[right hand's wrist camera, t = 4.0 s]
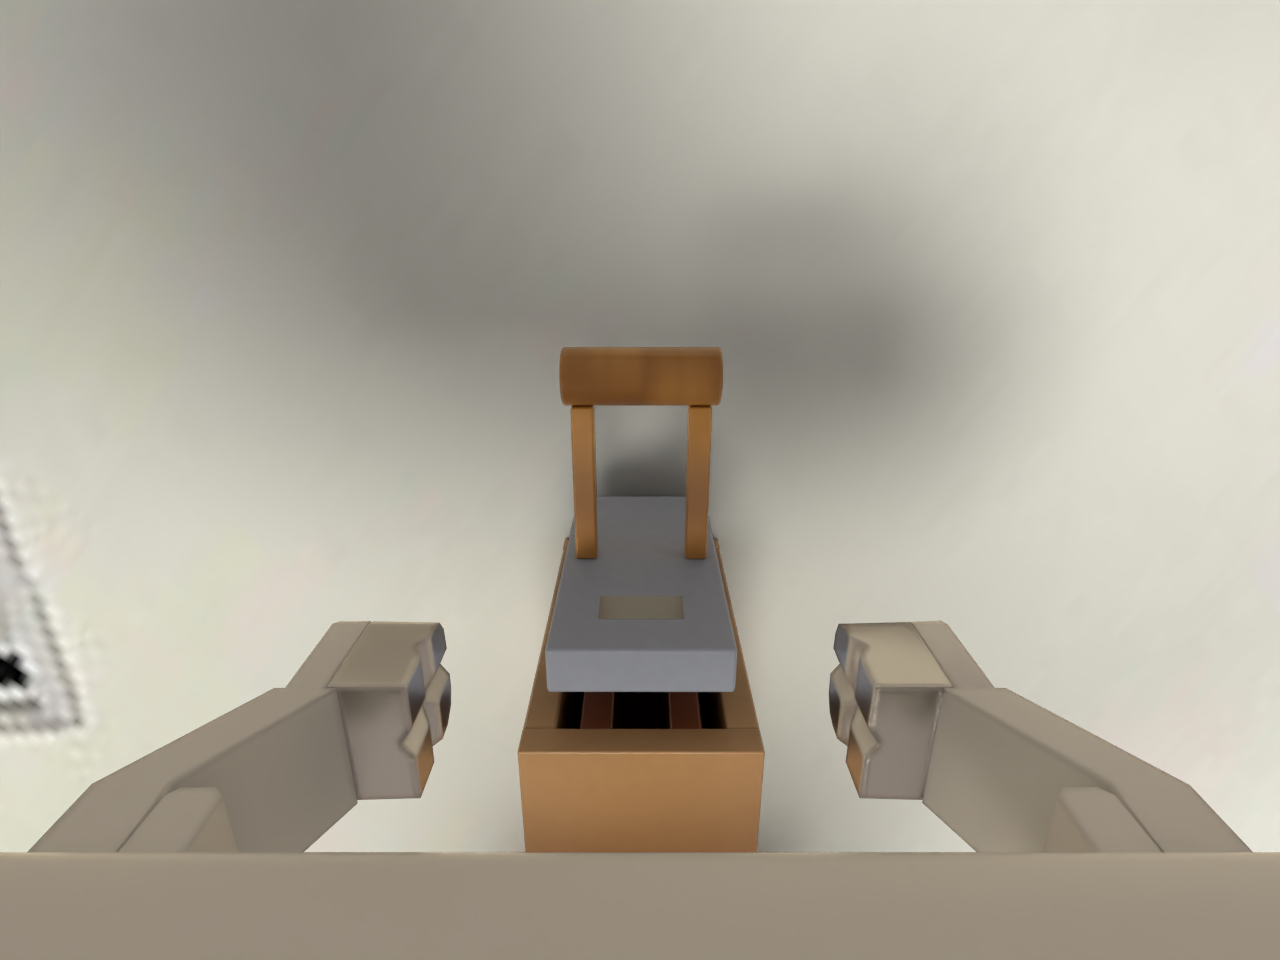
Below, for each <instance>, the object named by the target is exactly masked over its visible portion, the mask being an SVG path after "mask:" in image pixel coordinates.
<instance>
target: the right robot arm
mask: <svg viewBox="0 0 1280 960" xmlns="http://www.w3.org/2000/svg"><path fill="white" fill-rule="evenodd" d="M834 650H835V653H836V655H837V657H838V660H839V662H840V664H839V665H838V666H837V667H836V668H835V669H834V671H833V672H832V673H831V674H830V686H829V704H830V714H831V719H832V724H833V727H834V730H835V733H836V736H837V739H839V740H840V741H841V742H843V743H844V744H845V745H847V746H848V748H847V757H846V763H847V766H848V769H849V771H850V774H851V776H852V779H853V782H854V784H855V787H856V790H857V792H858V795H859V798H876V799H912V800H923V802H922V803H923V804H924V805H926V806H927V807H928V808H929V809H930V810H931V811H932V812H933V813H934V814H935V815H937V816H938V817H939V818H940V819H941V820H942V821H943V822H944V823H945V824H946V825H948V826H949V827H950V828H951V829H952V830H953V831H954V832H955V833H956V834H957V835H959V836H960V837H961V838H962V839H963V840H964V841H965V842H966V843H967V844H968V845H970V846H971V847H972V848H973V849H974V850H975V851H976V852H696V853H426V852H304V851H305V850H306V849H308V848H309V847H310V846H311V845H312V844H313V843H314V842H315V841H316V840H317V839H319V838H320V837H321V836H322V835H323V834H324V833H325V832H326V831H327V830H328V829H330V828H331V827H332V826H333V825H334V824H335V823H336V822H337V821H338V820H340V819H341V818H342V817H343V816H344V815H345V814H346V813H347V812H348V811H349V810H351V809H352V808H353V807H354V806H355V805H356V804H357V800H368V799H403V798H421V795H422V793H423V790H424V787H425V785H426V782H427V779H428V777H429V774H430V771H431V769H432V766H433V763H434V756H433V748H432V746H433V745H435V744H436V743H437V742H439V741H440V740H441V739H443V736H444V733H445V730H446V727H447V725H448V719H449V713H450V707H451V683H450V674H449V673H448V672H447V670H446V669H445V668H444V667H443V666H442V665H441V664H440V662H441V660H442V658H443V655H444V653H445V651H446V641H445V635H444V629H443V627H442V626H441V624H440V623H427V622H377V621H374V622H370V621H340V622H337V623H334V624H332V625H331V627H330V628H329V629H328V631H327V632H326V633H325V635H324V636H323V637H322V639H321V640H320V642H319V643H318V644H317V646H316V647H315V648H314V650H313V651H312V652H311V654H310V655H309V656H308V658H307V659H306V661H305V662H304V663H303V665H302V666H301V667H300V669H299V670H298V671H297V673H296V674H295V675H294V677H293V678H292V679H291V681H290V682H289V684H288V685H287V686H286V688H274V689H272V690H270V691H268V692H266V693H264V694H262V695H260V696H258V697H257V698H255V699H253V700H251V701H249V702H247V703H245V704H243V705H241V706H239V707H238V708H236V709H234V710H232V711H230V712H228V713H226V714H224V715H222V716H220V717H219V718H217V719H215V720H213V721H211V722H209V723H207V724H205V725H203V726H201V727H200V728H198V729H196V730H194V731H192V732H190V733H188V734H186V735H184V736H182V737H181V738H179V739H177V740H175V741H173V742H171V743H169V744H167V745H165V746H163V747H162V748H160V749H158V750H156V751H154V752H152V753H150V754H148V755H146V756H144V757H142V758H141V759H139V760H137V761H135V762H133V763H131V764H129V765H127V766H125V767H123V768H122V769H120V770H118V771H116V772H114V773H112V774H110V775H108V776H106V777H104V778H103V779H101V780H99V781H97V782H95V783H93V784H91V786H90V787H89V788H88V789H87V790H86V791H85V792H84V793H83V794H82V795H81V796H80V797H79V798H78V799H77V800H76V801H75V802H74V803H73V804H72V806H71V807H70V808H69V809H68V810H67V811H66V812H65V813H64V814H63V815H62V816H61V817H60V818H59V819H58V820H57V821H56V822H55V823H54V825H53V826H52V827H51V828H50V829H49V830H48V831H47V832H46V833H45V834H44V835H43V836H42V837H41V838H40V839H39V840H38V841H37V842H36V844H35V845H34V846H33V847H32V848H31V849H30V850H29V851H28V852H0V960H1280V852H1252V851H1251V850H1250V849H1249V848H1248V846H1247V845H1246V844H1245V843H1244V842H1243V841H1242V840H1241V839H1240V838H1239V837H1238V836H1237V835H1236V834H1235V833H1234V832H1233V831H1232V829H1231V828H1230V827H1229V826H1228V825H1227V824H1226V823H1225V822H1224V821H1223V820H1222V819H1221V818H1220V817H1219V816H1218V815H1217V814H1216V812H1215V811H1214V810H1213V809H1212V808H1211V807H1210V806H1209V805H1208V804H1207V803H1206V802H1205V801H1204V800H1203V799H1202V798H1201V797H1200V796H1199V794H1198V793H1197V792H1196V791H1195V790H1194V789H1193V788H1192V787H1191V786H1190V785H1188V784H1186V783H1185V782H1183V781H1181V780H1179V779H1177V778H1175V777H1173V776H1171V775H1169V774H1168V773H1166V772H1164V771H1162V770H1160V769H1158V768H1156V767H1154V766H1152V765H1150V764H1149V763H1147V762H1145V761H1143V760H1141V759H1139V758H1137V757H1135V756H1133V755H1132V754H1130V753H1128V752H1126V751H1124V750H1122V749H1120V748H1118V747H1116V746H1114V745H1113V744H1111V743H1109V742H1107V741H1105V740H1103V739H1101V738H1099V737H1097V736H1096V735H1094V734H1092V733H1090V732H1088V731H1086V730H1084V729H1082V728H1080V727H1078V726H1077V725H1075V724H1073V723H1071V722H1069V721H1067V720H1065V719H1063V718H1061V717H1060V716H1058V715H1056V714H1054V713H1052V712H1050V711H1048V710H1046V709H1044V708H1042V707H1041V706H1039V705H1037V704H1035V703H1033V702H1031V701H1029V700H1027V699H1025V698H1024V697H1022V696H1020V695H1018V694H1016V693H1014V692H1012V691H1010V690H1008V689H1006V688H995V687H994V686H993V685H992V683H991V682H990V681H989V679H988V678H987V677H986V675H985V674H984V673H983V671H982V670H981V669H980V667H979V666H978V665H977V663H976V662H975V661H974V659H973V658H972V657H971V655H970V654H969V653H968V651H967V650H966V649H965V647H964V646H963V644H962V643H961V642H960V640H959V639H958V638H957V636H956V635H955V634H954V632H953V631H952V630H951V628H950V627H949V626H948V624H946V623H944V622H942V621H919V622H896V623H855V624H839V625H838V628H837V630H836V633H835V641H834Z"/></svg>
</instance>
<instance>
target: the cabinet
mask: <svg viewBox="0 0 1280 960" xmlns="http://www.w3.org/2000/svg"><path fill="white" fill-rule="evenodd" d="M568 542H569V540H568V539H565V542H564V546H563V554H562V559H561V563H560V568H559V572H558V577H557V581H556V586H555V590H554V595H553V599H552V603H551V608H550V612H549V617H548V621H547V626H546V630H545V635H544V639H543V643H542V648H541V652H540V657H539V661H538V666H537V670H536V675H535V679H534V684H533V688H532V692H531V697H530V701H529V706H528V710H527V715H526V719H525V724H524V728H523V731H522V735H521V740H520V744H519V749H518V762H519V775H520V787H521V800H522V812H523V825H524V837H525V850H526V853H696V852H757V842H758V830H759V817H760V805H761V792H762V780H763V767H764V755H765V752H764V747H763V743H762V738H761V734H760V730H759V725H758V721H757V716H756V712H755V708H754V703H753V699H752V694H751V690H750V685H749V681H748V676H747V672H746V667H745V663H744V658H743V654H742V650H741V645H740V641H739V636H738V632H737V627H736V623H735V618H734V614H733V609H732V605H731V600H730V596H729V592H728V587H727V583H726V578H725V574H724V569H723V565H722V560H721V556H720V551H719V544H718V540H717V539H714V544H715V549H716V554H717V558H718V563H719V568H720V572H721V577H722V582H723V586H724V591H725V596H726V600H727V605H728V610H729V614H730V619H731V624H732V628H733V633H734V638H735V642H736V647H737V666H736V683H735V689H734V691H733V692H698V695H699V703H700V712H701V720H702V729H580V722H581V714H582V705H583V697H584V692H550V691H548V688H547V677H546V659H545V649H546V644H547V639H548V635H549V630H550V625H551V621H552V616H553V611H554V607H555V602H556V598H557V593H558V588H559V584H560V579H561V574H562V570H563V565H564V560H565V556H566V551H567V546H568Z"/></svg>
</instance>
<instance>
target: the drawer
mask: <svg viewBox="0 0 1280 960" xmlns="http://www.w3.org/2000/svg"><path fill="white" fill-rule="evenodd" d="M722 387H723V360H722V352H721V349H720V348H718V347H564V348H562V351H561V355H560V393H561V400H562V403H563V404H564V405H572V407H571V435H572V462H573V488H574V519H573V523H572V528H571V533H570V537H569V542H568V546H567V551H566V556H565V560H564V565H563V570H562V574H561V579H560V584H559V588H558V593H557V598H556V602H555V607H554V611H553V616H552V621H551V625H550V630H549V635H548V639H547V644H546V649H545V659H546V677H547V688H548V691H550V692H584V697H583V705H582V714H581V722H580V729H702V720H701V712H700V703H699V695H698V692H733V691H734V689H735V683H736V666H737V647H736V642H735V638H734V633H733V628H732V624H731V619H730V614H729V610H728V605H727V600H726V596H725V591H724V586H723V582H722V577H721V572H720V568H719V563H718V558H717V554H716V549H715V544H714V540H713V535H712V530H711V526H710V521H709V516H708V502H709V475H710V449H711V422H712V408H711V405H719V404H720V401H721V397H722ZM595 405H688V421H687V462H686V497H597V485H596V445H595Z"/></svg>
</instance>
